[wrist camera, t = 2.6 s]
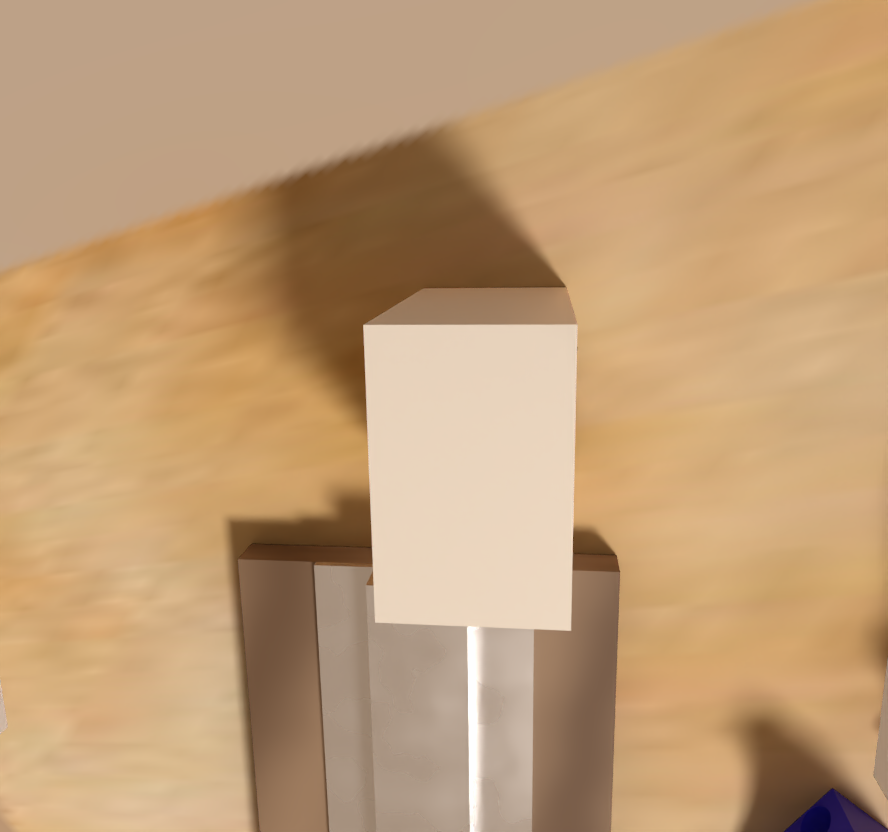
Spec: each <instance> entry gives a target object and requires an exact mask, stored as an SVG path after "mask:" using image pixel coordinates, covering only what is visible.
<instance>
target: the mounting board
mask: <svg viewBox="0 0 888 832" xmlns="http://www.w3.org/2000/svg"><path fill="white" fill-rule="evenodd" d="M316 562H333V563H363V564H373V557H372V548H369V547H337V546H305V545H272V544H251V545H250V546H249V547H248V548H247V550H246V551H245V552H244V553H243V554H242V555H241V556H240V557H239V559H238V568H239V580H240V593H241V605H242V617H243V630H244V642H245V655H246V667H247V679H248V692H249V704H250V716H251V729H252V741H253V753H254V766H255V778H256V790H257V803H258V815H259V828H260V832H329V816H328V799H327V782H326V764H325V747H324V730H323V712H322V695H321V678H320V661H319V643H318V626H317V609H316V591H315V574H314V564H315V563H316ZM619 586H620V570H619V565H618V560H617V555H595V554H573V561H572V609H571V631H564V630H541V629H534V671H533V777H532V832H611V810H612V782H613V754H614V726H615V698H616V670H617V642H618V614H619Z"/></svg>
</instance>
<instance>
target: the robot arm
mask: <svg viewBox="0 0 888 832" xmlns="http://www.w3.org/2000/svg"><path fill="white" fill-rule="evenodd" d="M7 727H8V726H7V720H6V713H5V707H4V701H3V694H2V688H1V682H0V734H1V733H2V732H3V731H4V730H5V729H6V728H7ZM873 776H874V778H875V780H876V781H877V783H878V785H879V786H880V788H881V790H882V791H883V793H884V795H885V796H886V798H887V800H888V660H887V668H886V676H885V684H884V693H883V701H882V709H881V717H880V726H879V734H878V742H877V750H876V759H875V767H874V775H873Z"/></svg>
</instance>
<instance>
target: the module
mask: <svg viewBox="0 0 888 832" xmlns="http://www.w3.org/2000/svg"><path fill="white" fill-rule="evenodd" d="M363 331H364V356H365V381H366V406H367V431H368V456H369V481H370V506H371V532H372V557H373V582H374V607H375V623H397V624H421V625H445V626H469V627H493V628H517V629H541V630H564V631H571V609H572V561H573V514H574V466H575V419H576V371H577V321H576V318H575V314H574V311H573V307H572V304H571V300H570V297H569V294H568V290H567V287H532V288H423V289H421V290H420V291H418V292H416V293H415V294H413V295H412V296H410V297H408V298H407V299H405V300H403V301H402V302H400V303H398V304H397V305H395V306H393V307H392V308H390V309H389V310H387V311H385V312H384V313H382V314H380V315H379V316H377V317H375V318H374V319H372V320H370V321H369V322H367V323H366V324H364V325H363Z"/></svg>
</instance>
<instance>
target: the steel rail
mask: <svg viewBox="0 0 888 832" xmlns="http://www.w3.org/2000/svg"><path fill="white" fill-rule="evenodd" d="M314 574H315V591H316V609H317V626H318V643H319V661H320V678H321V695H322V712H323V730H324V747H325V764H326V782H327V799H328V816H329V832H532V777H533V671H534V629H517V628H493V627H469V626H445V625H421V624H397V623H375V607H374V582H373V564H363V563H333V562H316V563H315V564H314Z"/></svg>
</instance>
